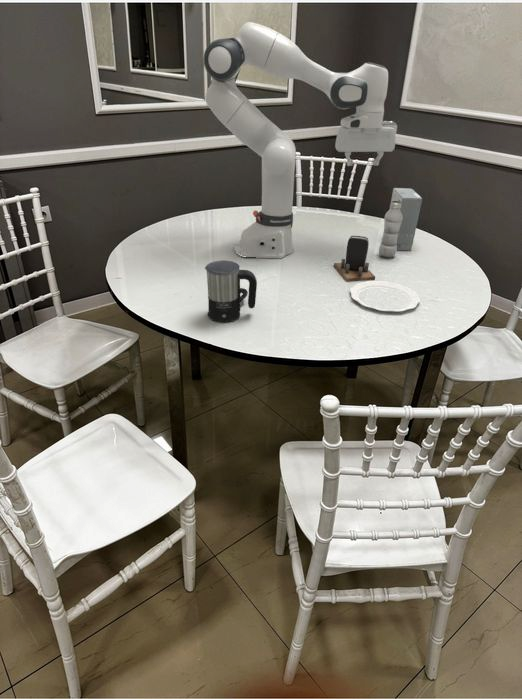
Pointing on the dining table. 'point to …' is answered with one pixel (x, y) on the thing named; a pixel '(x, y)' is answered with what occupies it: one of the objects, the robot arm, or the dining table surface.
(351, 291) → the plate
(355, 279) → the brown pegboard
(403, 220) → the hard drive box
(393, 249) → the plastic bottle
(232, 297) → the milk frother
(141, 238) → the dining table surface
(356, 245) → the battery charger
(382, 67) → the robot arm
